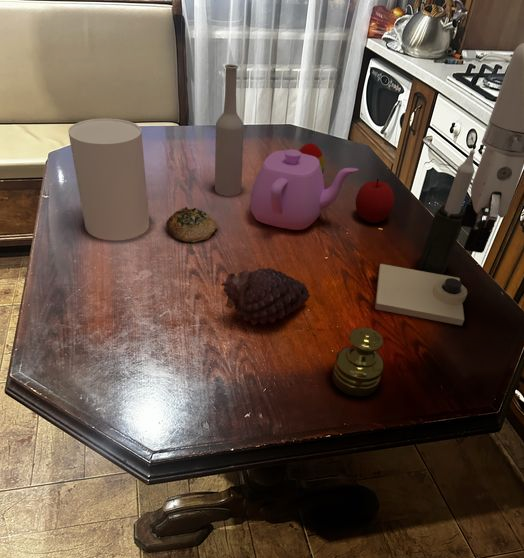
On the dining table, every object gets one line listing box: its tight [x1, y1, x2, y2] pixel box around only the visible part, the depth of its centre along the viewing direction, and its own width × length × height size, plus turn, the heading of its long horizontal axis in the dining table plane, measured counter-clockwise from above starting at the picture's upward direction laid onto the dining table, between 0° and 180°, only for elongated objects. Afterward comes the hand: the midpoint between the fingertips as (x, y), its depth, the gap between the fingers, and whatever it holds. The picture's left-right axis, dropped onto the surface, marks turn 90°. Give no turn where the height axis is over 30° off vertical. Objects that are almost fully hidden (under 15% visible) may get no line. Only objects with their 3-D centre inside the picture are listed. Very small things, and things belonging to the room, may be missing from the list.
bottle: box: [214, 63, 245, 197], centre depth 119 cm, size 7×7×28 cm
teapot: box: [249, 148, 359, 231], centre depth 113 cm, size 23×21×15 cm
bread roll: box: [165, 206, 219, 243], centre depth 111 cm, size 11×11×5 cm
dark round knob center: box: [443, 278, 463, 294], centre depth 97 cm, size 3×3×2 cm
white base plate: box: [374, 263, 468, 326], centre depth 99 cm, size 16×14×3 cm
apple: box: [355, 178, 395, 224], centre depth 119 cm, size 9×9×10 cm
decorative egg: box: [298, 142, 325, 175], centre depth 131 cm, size 8×8×10 cm
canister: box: [67, 117, 150, 241], centre depth 105 cm, size 14×14×20 cm
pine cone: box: [220, 267, 311, 325], centre depth 89 cm, size 18×10×10 cm
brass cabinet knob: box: [331, 327, 385, 397], centre depth 78 cm, size 7×7×10 cm
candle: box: [416, 149, 476, 275], centre depth 99 cm, size 5×5×25 cm
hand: (471, 237), depth 90 cm, fingers open, 8 cm apart
